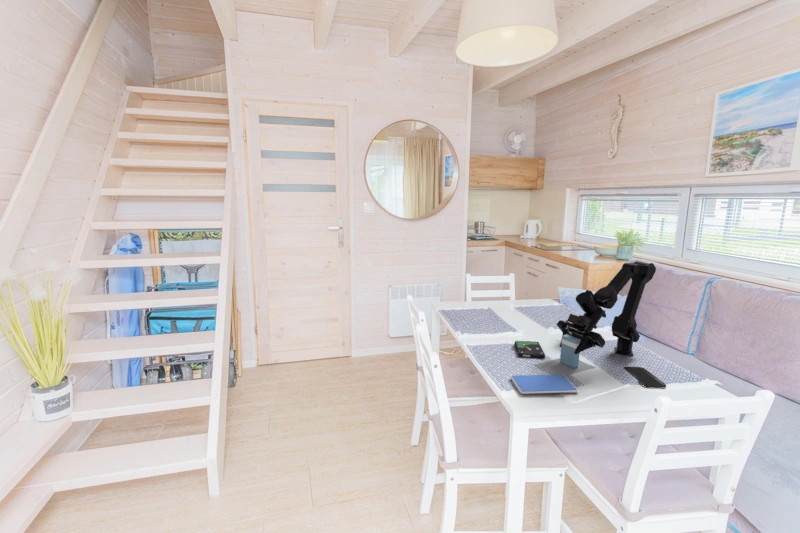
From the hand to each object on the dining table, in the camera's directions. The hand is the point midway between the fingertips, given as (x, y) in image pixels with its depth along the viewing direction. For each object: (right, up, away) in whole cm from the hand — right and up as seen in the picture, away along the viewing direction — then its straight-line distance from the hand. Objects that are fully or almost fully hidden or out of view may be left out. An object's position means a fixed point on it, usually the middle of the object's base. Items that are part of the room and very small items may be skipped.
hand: (567, 350), depth 150 cm
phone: (+25, -9, -7) cm, 27 cm away
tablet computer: (-15, -9, -15) cm, 23 cm away
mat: (-1, -7, +1) cm, 7 cm away
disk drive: (-10, -5, +16) cm, 19 cm away
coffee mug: (+15, -2, +27) cm, 31 cm away
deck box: (+1, -6, +2) cm, 6 cm away
